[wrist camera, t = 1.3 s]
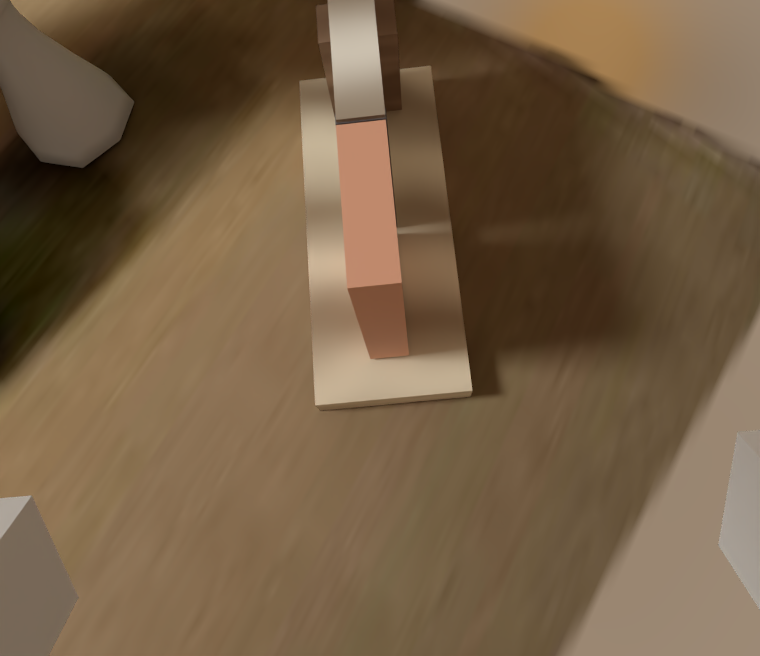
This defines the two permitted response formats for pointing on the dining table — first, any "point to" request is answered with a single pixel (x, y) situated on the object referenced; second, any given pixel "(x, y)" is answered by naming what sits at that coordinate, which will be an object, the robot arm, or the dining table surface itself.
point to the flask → (57, 95)
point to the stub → (371, 237)
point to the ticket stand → (412, 211)
